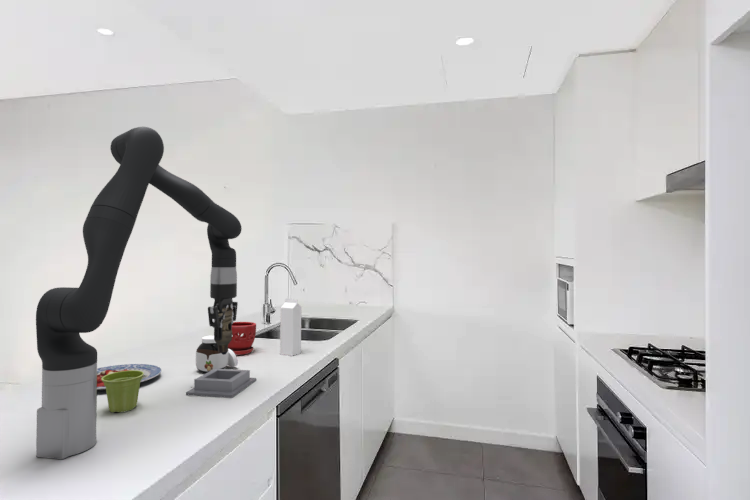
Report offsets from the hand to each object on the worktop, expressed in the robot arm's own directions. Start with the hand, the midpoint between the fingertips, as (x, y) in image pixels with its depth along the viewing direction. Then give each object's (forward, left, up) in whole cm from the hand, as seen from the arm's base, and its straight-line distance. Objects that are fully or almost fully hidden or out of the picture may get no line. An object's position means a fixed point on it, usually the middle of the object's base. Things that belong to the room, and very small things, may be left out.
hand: (223, 337), depth 125 cm
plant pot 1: (-20, +17, -15) cm, 30 cm away
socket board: (0, 0, -15) cm, 15 cm away
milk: (+43, -6, -15) cm, 46 cm away
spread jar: (+17, +11, -15) cm, 25 cm away
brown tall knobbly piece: (0, 0, -5) cm, 5 cm away
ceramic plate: (0, +36, -15) cm, 39 cm away
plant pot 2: (+41, +15, -15) cm, 46 cm away
